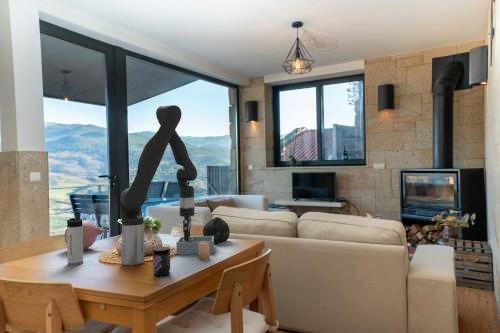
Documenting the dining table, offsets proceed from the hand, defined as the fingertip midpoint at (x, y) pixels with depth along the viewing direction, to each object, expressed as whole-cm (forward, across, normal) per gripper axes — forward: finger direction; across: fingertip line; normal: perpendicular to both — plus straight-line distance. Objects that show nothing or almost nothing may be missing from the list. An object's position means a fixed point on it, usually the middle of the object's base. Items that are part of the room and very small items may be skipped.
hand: (187, 238), depth 182 cm
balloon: (+7, -10, -54) cm, 55 cm away
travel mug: (+7, +18, -48) cm, 51 cm away
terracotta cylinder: (+6, +16, +9) cm, 20 cm away
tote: (+6, 0, +4) cm, 8 cm away
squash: (+6, -20, +15) cm, 25 cm away
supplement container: (+7, +40, -6) cm, 41 cm away
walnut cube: (+5, 0, 0) cm, 5 cm away
